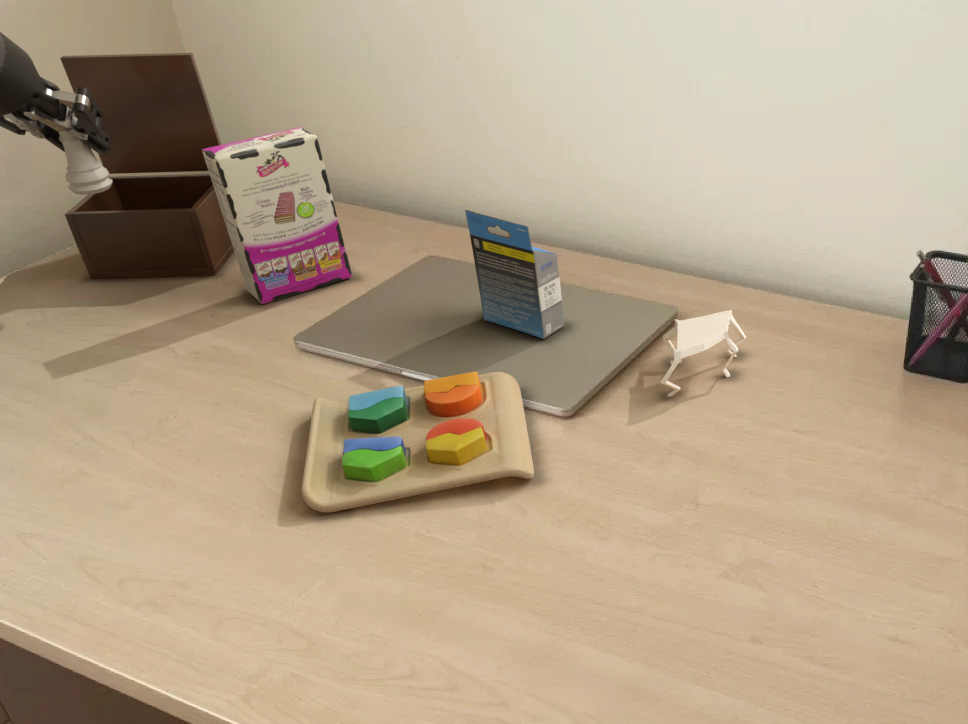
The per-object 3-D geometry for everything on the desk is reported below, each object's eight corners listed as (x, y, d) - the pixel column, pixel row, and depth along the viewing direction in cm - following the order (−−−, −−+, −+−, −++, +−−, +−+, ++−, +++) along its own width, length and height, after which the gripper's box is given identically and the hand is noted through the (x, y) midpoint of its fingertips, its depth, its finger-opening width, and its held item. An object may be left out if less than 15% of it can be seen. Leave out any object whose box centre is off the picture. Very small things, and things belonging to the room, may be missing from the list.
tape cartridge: (567, 326, 114) (555, 214, 106) (543, 341, 111) (529, 227, 103) (505, 307, 117) (489, 197, 110) (481, 320, 115) (463, 209, 107)
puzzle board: (319, 411, 100) (310, 379, 98) (520, 387, 103) (515, 355, 101) (304, 518, 87) (294, 483, 85) (536, 486, 90) (531, 452, 88)
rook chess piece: (123, 186, 117) (96, 111, 112) (85, 198, 114) (57, 121, 109) (98, 179, 119) (71, 105, 114) (60, 191, 116) (31, 115, 111)
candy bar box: (336, 265, 127) (301, 124, 117) (354, 278, 124) (320, 135, 114) (243, 292, 121) (199, 146, 111) (260, 306, 118) (215, 158, 108)
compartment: (215, 275, 125) (195, 210, 120) (90, 279, 125) (64, 214, 120) (247, 234, 135) (229, 173, 130) (131, 237, 135) (108, 176, 130)
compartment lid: (190, 54, 121) (203, 41, 125) (59, 57, 120) (77, 44, 124) (227, 170, 130) (239, 154, 133) (106, 174, 129) (121, 158, 133)
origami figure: (672, 344, 110) (670, 300, 107) (750, 353, 108) (750, 309, 105) (635, 401, 101) (632, 355, 98) (720, 412, 99) (719, 366, 96)
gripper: (41, 18, 99) (155, 116, 116) (-98, 16, 100) (36, 112, 117) (28, 94, 98) (145, 181, 115) (-112, 90, 99) (25, 176, 116)
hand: (89, 146), depth 116 cm, fingers closed on rook chess piece, 3 cm apart
